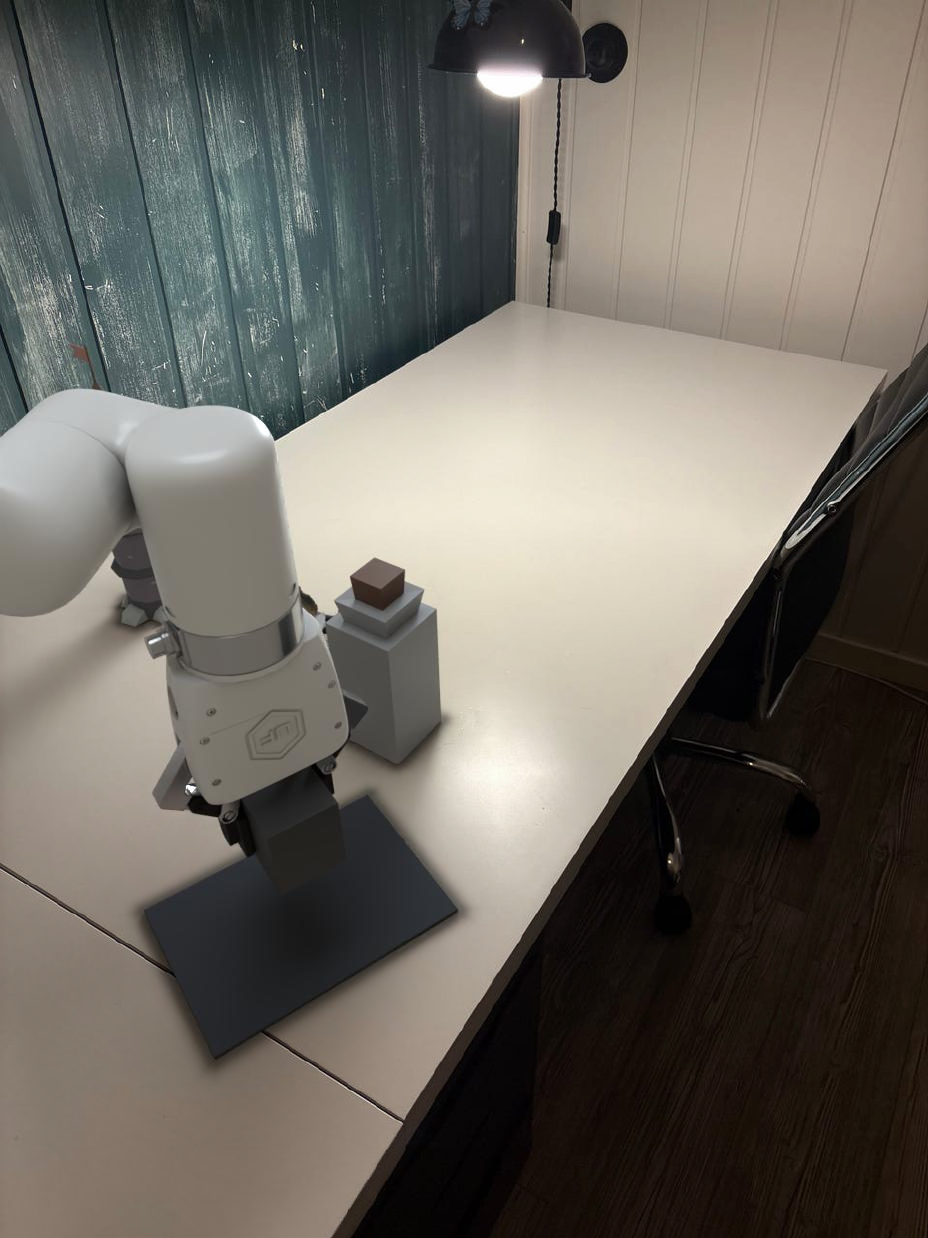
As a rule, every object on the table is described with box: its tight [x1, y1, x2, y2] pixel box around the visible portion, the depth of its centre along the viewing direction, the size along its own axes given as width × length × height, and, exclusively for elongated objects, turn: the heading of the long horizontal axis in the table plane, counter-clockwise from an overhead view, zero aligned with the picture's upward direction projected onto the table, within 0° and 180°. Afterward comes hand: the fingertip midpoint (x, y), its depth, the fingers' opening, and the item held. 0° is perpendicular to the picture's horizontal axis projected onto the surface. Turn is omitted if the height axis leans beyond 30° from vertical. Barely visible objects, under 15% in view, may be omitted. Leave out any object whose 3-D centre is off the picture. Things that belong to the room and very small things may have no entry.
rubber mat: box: [143, 794, 459, 1060], centre depth 71 cm, size 20×14×1 cm
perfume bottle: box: [325, 557, 442, 766], centre depth 81 cm, size 7×7×18 cm
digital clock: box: [240, 766, 347, 896], centre depth 63 cm, size 10×5×6 cm, turn 35°
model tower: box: [68, 342, 164, 628], centre depth 93 cm, size 10×11×30 cm
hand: (281, 820), depth 64 cm, fingers closed on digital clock, 5 cm apart
